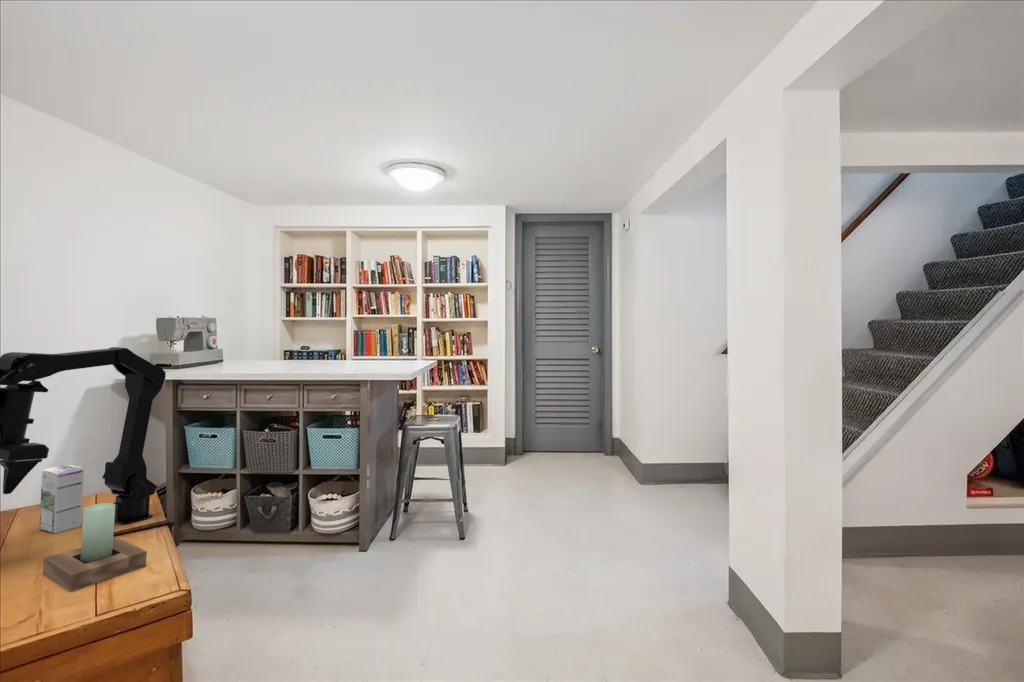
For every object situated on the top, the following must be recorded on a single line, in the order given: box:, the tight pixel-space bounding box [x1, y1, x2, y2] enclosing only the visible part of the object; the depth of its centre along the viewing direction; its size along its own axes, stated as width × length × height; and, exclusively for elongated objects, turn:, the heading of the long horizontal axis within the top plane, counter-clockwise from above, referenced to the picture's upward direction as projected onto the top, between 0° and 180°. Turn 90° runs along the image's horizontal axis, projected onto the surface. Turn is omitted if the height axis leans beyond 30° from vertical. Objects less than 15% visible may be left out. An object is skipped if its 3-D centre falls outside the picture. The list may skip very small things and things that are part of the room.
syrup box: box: [38, 464, 85, 534], centre depth 113 cm, size 6×6×14 cm
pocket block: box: [42, 536, 148, 593], centre depth 94 cm, size 12×12×4 cm
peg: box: [80, 502, 115, 564], centre depth 94 cm, size 5×5×12 cm
